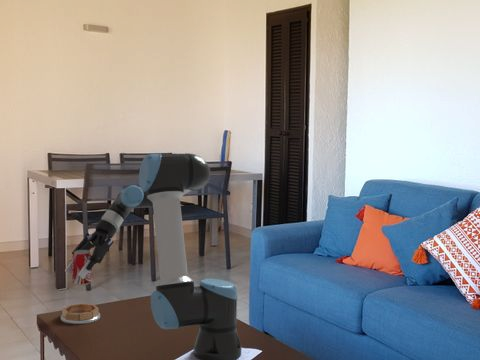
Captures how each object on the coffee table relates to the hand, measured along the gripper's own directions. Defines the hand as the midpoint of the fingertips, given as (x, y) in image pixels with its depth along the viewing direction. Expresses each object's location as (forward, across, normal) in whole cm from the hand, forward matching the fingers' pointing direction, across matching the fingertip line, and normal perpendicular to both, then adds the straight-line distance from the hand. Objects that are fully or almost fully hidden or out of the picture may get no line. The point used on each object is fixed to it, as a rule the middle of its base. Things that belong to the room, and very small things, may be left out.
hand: (74, 274), depth 217 cm
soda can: (0, 0, -6) cm, 6 cm away
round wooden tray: (+10, 0, -14) cm, 17 cm away
